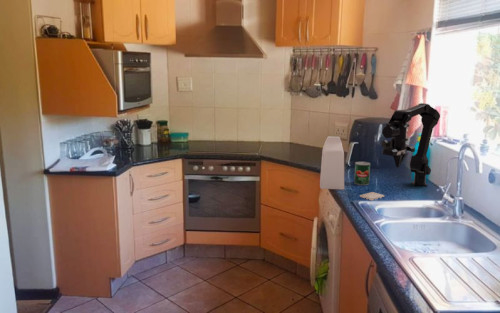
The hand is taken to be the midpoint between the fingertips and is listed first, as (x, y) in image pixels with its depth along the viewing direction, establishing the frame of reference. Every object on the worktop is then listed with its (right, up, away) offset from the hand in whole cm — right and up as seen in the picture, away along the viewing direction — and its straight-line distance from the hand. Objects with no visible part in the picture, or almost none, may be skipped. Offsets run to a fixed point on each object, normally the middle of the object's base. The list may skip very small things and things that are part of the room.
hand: (397, 167), depth 221 cm
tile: (-11, -13, -6) cm, 19 cm away
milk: (-31, -10, +11) cm, 34 cm away
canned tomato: (-14, -9, +16) cm, 23 cm away
